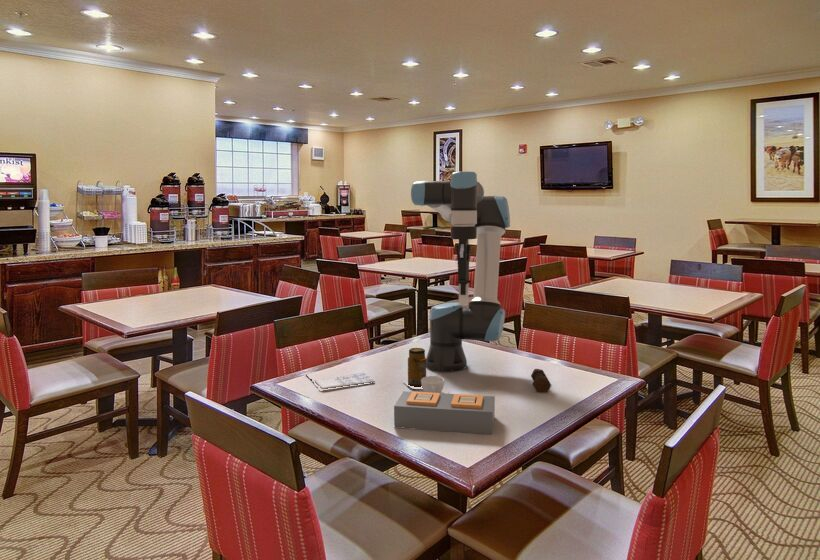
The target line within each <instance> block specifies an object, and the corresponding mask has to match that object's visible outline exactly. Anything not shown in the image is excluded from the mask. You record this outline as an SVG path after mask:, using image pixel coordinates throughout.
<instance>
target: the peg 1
mask: <svg viewBox="0 0 820 560" xmlns="http://www.w3.org/2000/svg"><path fill="white" fill-rule="evenodd" d="M431 399H432V395H424V394H418V395H417V397H416V399H415V400H431Z"/></svg>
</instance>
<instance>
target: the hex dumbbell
mask: <svg viewBox="0 0 820 560" xmlns="http://www.w3.org/2000/svg"><path fill="white" fill-rule="evenodd" d="M530 377H531V379H532V387H533V388H534V390H535V392H536V393H538V394H539V393H542V394H543V393H548V392H549V390H550V389H551V387H552V384H551V382H550V380H549V378H548V377H547V375H546V373H545V372H544V370H543V369H539V368H535V369H533V371H532V373H531V375H530Z"/></svg>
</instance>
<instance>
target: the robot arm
mask: <svg viewBox="0 0 820 560" xmlns="http://www.w3.org/2000/svg"><path fill="white" fill-rule="evenodd" d="M477 174H478V173H476V172H475V171H454V172H452V173H451V176H450V180H428V181H427V180H421V181H414V182H413V183H412V184H411V189H410V197H411V198H410V199H411V202H412V203H413V205H414V206H420V207H423V206H427V207H429V208H431V209H433V210H434V211H435V212H437V213H438V214H440V216H441V218H442V219H443V220H445V221H446V222H448V223H450V224H451V225H453V226H451V227H450V239H452V240H458V244H457V245H456V246H455V247H456V249H455V250H456V259H457V281H456V282H455V283H456V285H458V302H457V301H456V302H445V303H440V304H436V305H433V306H432V307H431V308H430V312H429V313H430V315H429V326H430V327H429V332H430V333H429V339H430V341H429V342H430V345H429V347H428V348H429V349H428V350H427V351H428V352H427V355H426V356H425V358H426V369H429V370H431V371H437V372H457V371H461V370H464V369H466V368H467V366H468V361H467V357H466V354H465V351H464V348H463V340H465V341H467V340H468V341H484V342H496V341H499V340H500V338H501V337H502V333H503V330H504V326H505V321H506V320H505V318H506V311H505V309H503V308H502V303H500V301H499V300H498V294H499V293H498V289H499V274H500V273H499V272H500V259H501V258H500V257H501V256H500V254H501V242H502V241H501V239H502V236H503V235H504V234H506V229H508V228H510V226H511V216H510V208H509V207H510V206H509V202H508V199H507V197H505V196H501V195H485V189H484V186H483V185H482V184H481V183H480V181H478V178H477V177H478V175H477ZM476 239H477V240H476ZM469 240H476V241H477V242H476V251H475V252H476V254H475V267H474V268H475V269H474V282H473V284H474V285H473V298H472V299H470V300H469V284H470V283H471V282H472V280H469V279H470V258H471V250H472V245H470V243H469ZM463 306H464V307H463ZM466 306H468V307H466Z"/></svg>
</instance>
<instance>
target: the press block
mask: <svg viewBox="0 0 820 560" xmlns="http://www.w3.org/2000/svg"><path fill="white" fill-rule="evenodd" d="M418 394H424V395H432V399H431V400H415V399H416V397H417V395H418ZM461 397H476V403H464V402H459V401H460V398H461ZM495 399H496V397H495V395H492V396H491V395H480V394H467V393H466V394H465V393H463V394H462V393H448V394H444V393H432V392H417V391H413V390H411V391H406V390H405V391H404V390H403V391H402V392H401V394H400V396H399V398H397V401H396V402H395V404H394V405H393V418H394V419H393V420H394V421H393V423H394V425H393V426H395V427H404V428H403V429H409V428H415V429H414V430H423V429H424V430H425V431H426V430H427V431H440V432H453V433H465V434H466V433H470V434H482V435H493V432H494V425H495V411H496V409H495V408H496V407H495V406H496V404H495V403H496V401H495ZM395 427H394V428H395ZM424 430H423V431H424Z"/></svg>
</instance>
